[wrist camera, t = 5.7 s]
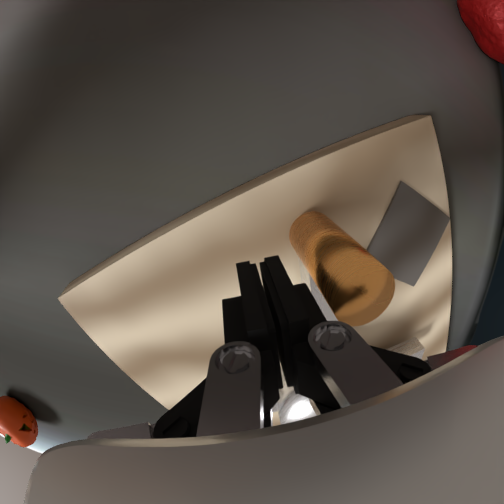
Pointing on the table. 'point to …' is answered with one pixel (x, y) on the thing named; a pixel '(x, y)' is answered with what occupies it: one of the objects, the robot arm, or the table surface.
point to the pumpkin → (17, 422)
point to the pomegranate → (485, 25)
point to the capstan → (338, 290)
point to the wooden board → (278, 243)
